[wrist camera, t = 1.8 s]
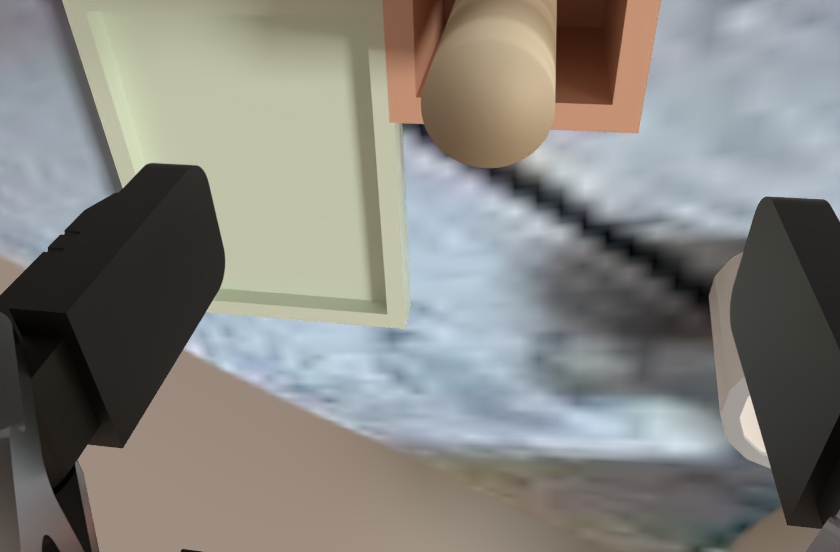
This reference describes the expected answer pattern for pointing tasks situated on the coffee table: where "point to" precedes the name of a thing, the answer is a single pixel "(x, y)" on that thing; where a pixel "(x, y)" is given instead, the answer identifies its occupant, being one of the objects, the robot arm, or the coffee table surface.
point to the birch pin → (493, 81)
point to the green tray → (266, 141)
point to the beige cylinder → (733, 371)
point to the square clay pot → (575, 59)
